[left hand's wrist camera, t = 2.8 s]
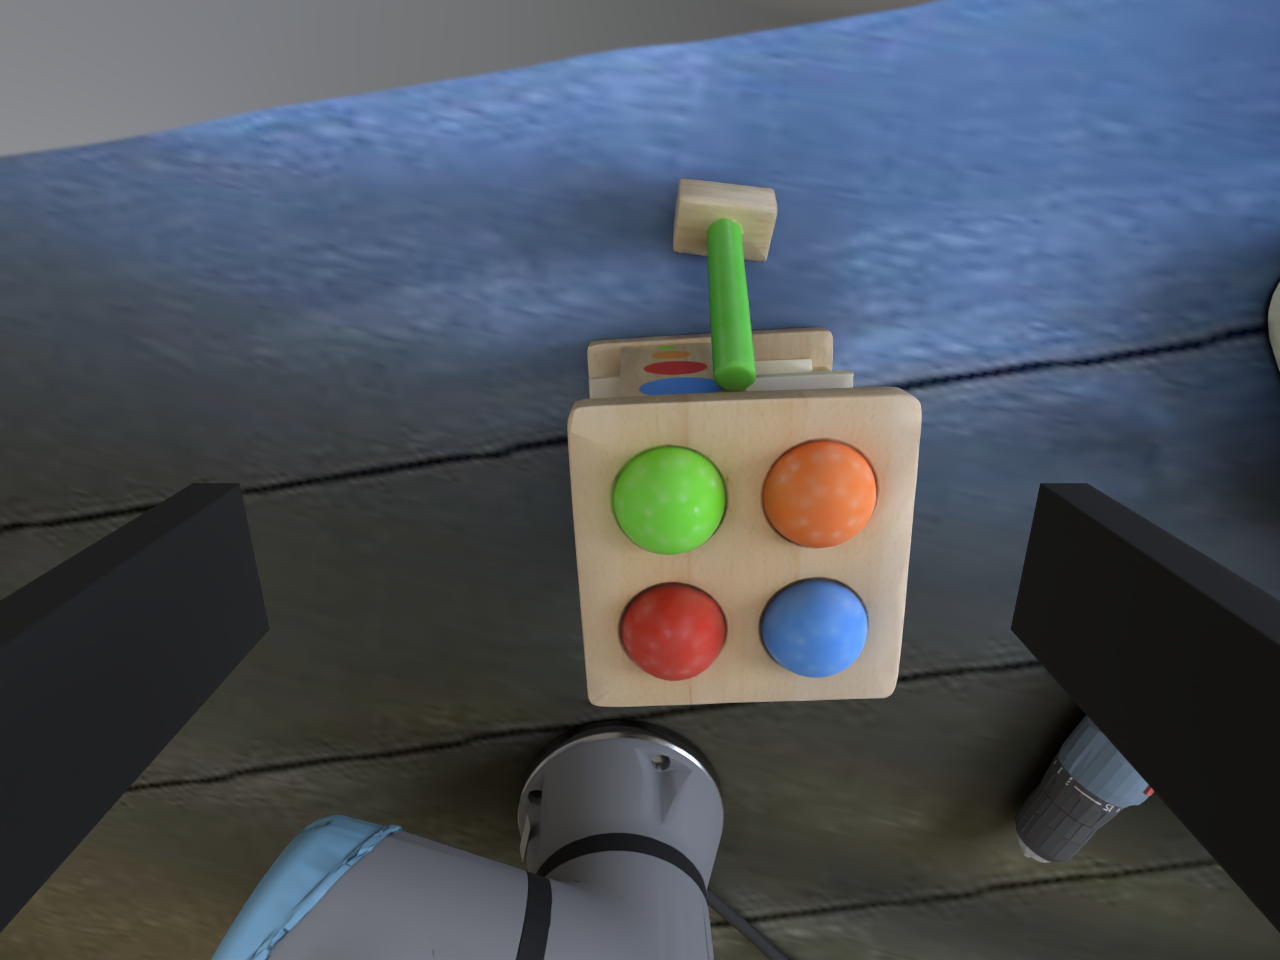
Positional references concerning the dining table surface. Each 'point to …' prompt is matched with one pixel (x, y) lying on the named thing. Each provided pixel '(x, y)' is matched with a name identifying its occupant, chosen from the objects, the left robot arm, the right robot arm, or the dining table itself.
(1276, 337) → the boat shoe
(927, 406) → the dining table surface
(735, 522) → the pounding bench toy
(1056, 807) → the power drill
